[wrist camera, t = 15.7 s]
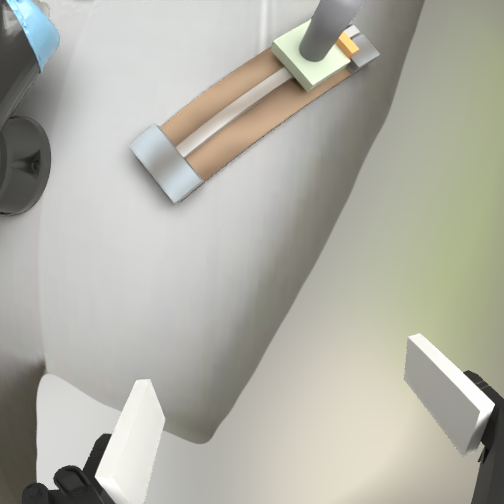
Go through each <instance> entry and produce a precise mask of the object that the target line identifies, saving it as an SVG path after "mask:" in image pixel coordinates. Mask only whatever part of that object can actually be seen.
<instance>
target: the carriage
mask: <svg viewBox="0 0 504 504" xmlns="http://www.w3.org/2000/svg"><path fill="white" fill-rule="evenodd" d="M364 2H365V0H321V1H320V3H319V5H318V7H317V9H316V11H315V13H314V15H313V17H312V19H311V20H309V21H307V22H305V23H303V24H302V25H300V26H298V27H296V28H294V29H293V30H291V31H289V32H287V33H286V34H284V35H282V36H281V37H279V38H277V39H275V40H274V41H273V44H272V48H271V51H272V52H273V53H274V55H275V56H276V57H277V58H278V59H279V60H280V61H281V62H282V63H283V64H284V66H285V67H286V68H287V69H288V70H289V71H290V72H291V74H292V75H293V76H294V77H295V78H296V79H297V81H298V82H299V83H300V84H301V85H302V86H303V88H304V89H305V90H306V91H307V92H309V91H310V90H311V89H313V88H314V87H316V86H318V85H319V84H321V83H322V82H324V81H325V80H327V79H328V78H330V77H331V76H333V75H334V74H336V73H338V72H339V71H341V70H342V69H344V68H345V67H346V66H347V64H348V63H349V62H350V60H349V59H348V57H347V56H346V55H345V54H344V53H343V52H342V50H341V49H340V48H339V47H338V46H337V45H336V44H335V42H336V41H337V40H338V38H339V37H340V36H341V34H342V33H343V32H344V30H345V29H346V27H347V26H348V25H349V23H350V22H351V21H352V19H353V18H354V17H355V15H356V14H357V13H358V11H359V10H360V9H361V7H362V6H363V5H364Z"/></svg>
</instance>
